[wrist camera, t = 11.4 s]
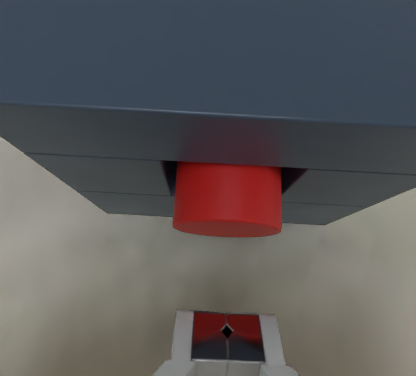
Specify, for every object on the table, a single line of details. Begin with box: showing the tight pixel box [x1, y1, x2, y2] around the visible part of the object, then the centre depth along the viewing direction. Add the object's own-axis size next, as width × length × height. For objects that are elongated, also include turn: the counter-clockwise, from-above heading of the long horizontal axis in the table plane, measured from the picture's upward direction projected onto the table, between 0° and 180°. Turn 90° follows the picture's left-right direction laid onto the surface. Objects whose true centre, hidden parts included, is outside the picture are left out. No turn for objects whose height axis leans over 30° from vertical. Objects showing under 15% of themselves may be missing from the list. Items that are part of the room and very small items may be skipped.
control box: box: [0, 0, 416, 225], centre depth 13 cm, size 7×12×12 cm, turn 87°
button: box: [173, 161, 282, 237], centre depth 12 cm, size 3×4×4 cm
